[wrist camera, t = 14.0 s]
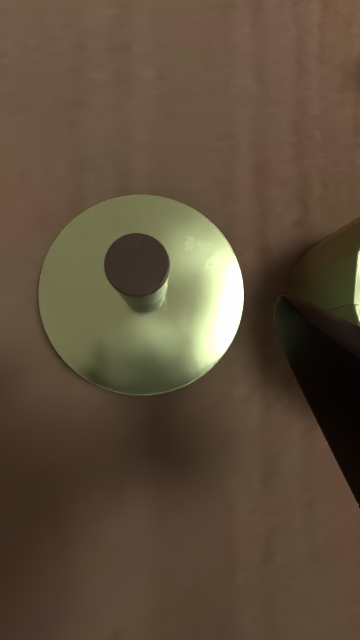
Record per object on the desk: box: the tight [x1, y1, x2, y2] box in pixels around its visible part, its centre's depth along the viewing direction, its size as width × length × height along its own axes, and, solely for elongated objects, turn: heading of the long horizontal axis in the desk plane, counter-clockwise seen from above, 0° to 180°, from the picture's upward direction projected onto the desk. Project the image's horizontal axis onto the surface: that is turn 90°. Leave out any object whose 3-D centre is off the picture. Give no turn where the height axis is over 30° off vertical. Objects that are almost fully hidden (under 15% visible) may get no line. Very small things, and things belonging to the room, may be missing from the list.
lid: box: [39, 194, 244, 396], centre depth 13 cm, size 12×12×7 cm
